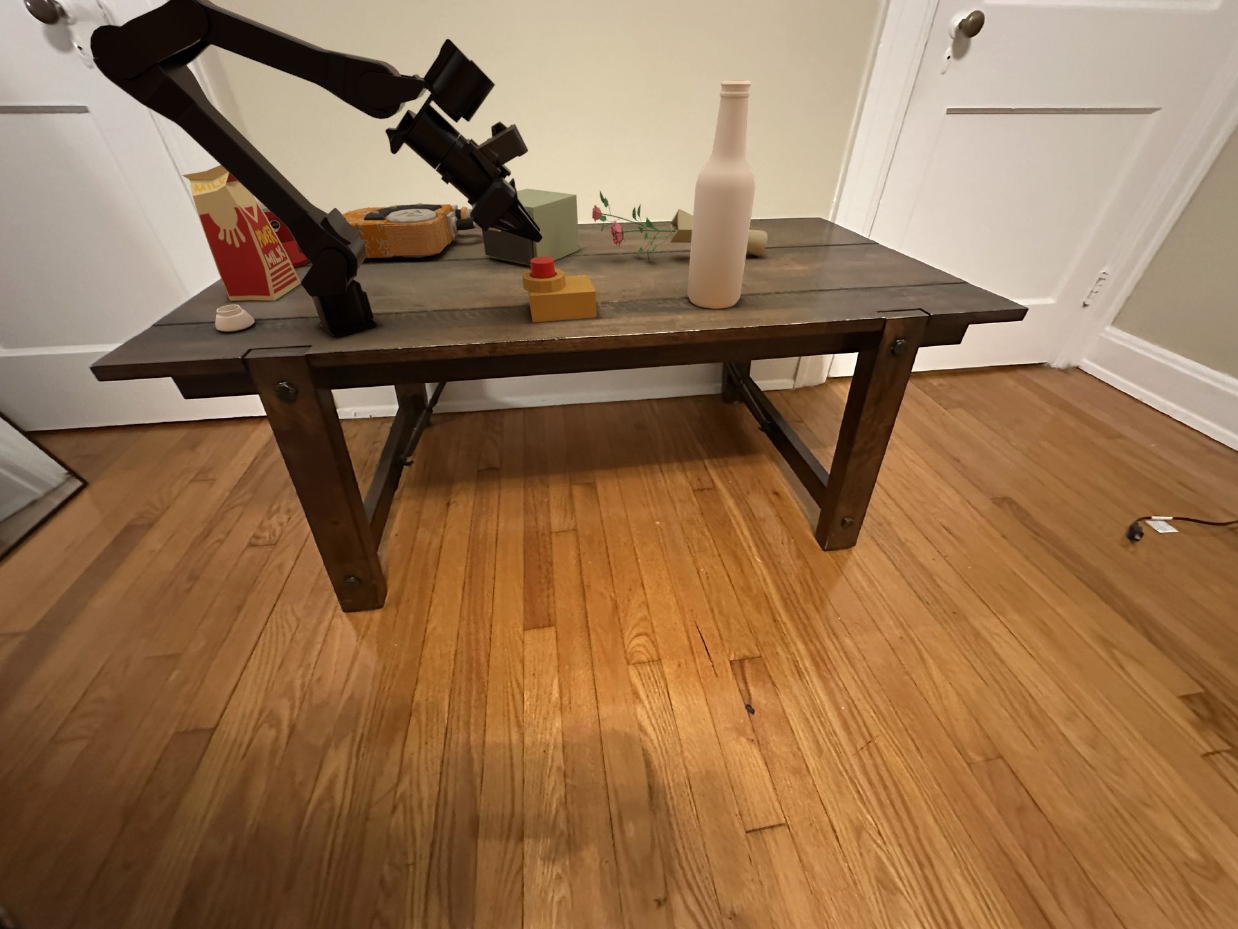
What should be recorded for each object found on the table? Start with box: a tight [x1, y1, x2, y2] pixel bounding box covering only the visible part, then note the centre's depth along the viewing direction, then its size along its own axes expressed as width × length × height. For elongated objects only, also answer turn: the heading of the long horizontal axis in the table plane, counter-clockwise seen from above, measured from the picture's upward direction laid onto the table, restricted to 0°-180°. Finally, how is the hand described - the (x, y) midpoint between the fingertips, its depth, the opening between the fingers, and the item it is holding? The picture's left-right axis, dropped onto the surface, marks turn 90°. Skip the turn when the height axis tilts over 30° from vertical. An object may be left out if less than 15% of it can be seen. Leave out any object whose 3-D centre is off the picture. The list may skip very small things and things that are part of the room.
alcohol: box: [686, 79, 756, 310], centre depth 80 cm, size 9×9×30 cm
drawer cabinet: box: [489, 188, 580, 267], centre depth 108 cm, size 14×13×11 cm
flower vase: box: [591, 190, 768, 262], centre depth 106 cm, size 12×12×35 cm
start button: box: [530, 257, 555, 279], centre depth 81 cm, size 4×4×2 cm
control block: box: [521, 268, 598, 323], centre depth 84 cm, size 11×8×6 cm
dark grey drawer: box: [473, 212, 534, 264], centre depth 105 cm, size 17×12×9 cm
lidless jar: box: [214, 304, 255, 333], centre depth 80 cm, size 5×3×5 cm
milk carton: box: [181, 164, 301, 302], centre depth 87 cm, size 9×9×20 cm
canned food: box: [257, 200, 310, 269], centre depth 103 cm, size 8×8×11 cm
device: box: [342, 202, 477, 259], centre depth 113 cm, size 23×8×30 cm
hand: (539, 236), depth 78 cm, fingers open, 4 cm apart
